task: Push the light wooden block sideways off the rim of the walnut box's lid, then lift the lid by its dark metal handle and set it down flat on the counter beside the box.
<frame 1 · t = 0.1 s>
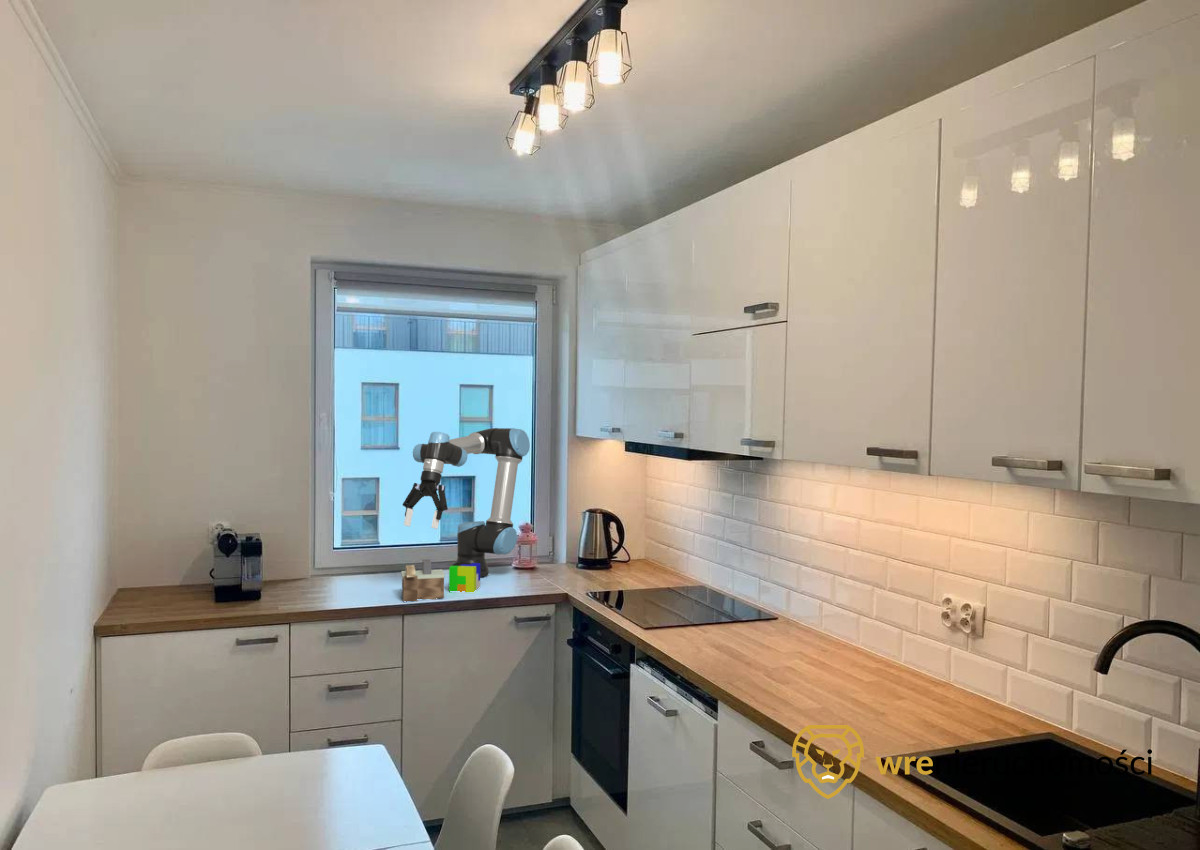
hand: (420, 527, 321), 28 cm above the worktop, tool tilted 20°, fingers open, 13 cm apart
light wooden block: (410, 571, 321), point 11 cm above the worktop, slide at 0.0 cm
lid: (422, 578, 328), point 7 cm above the worktop, touching box
puzzle toy: (464, 590, 341), on the worktop
box: (422, 596, 328), on the worktop
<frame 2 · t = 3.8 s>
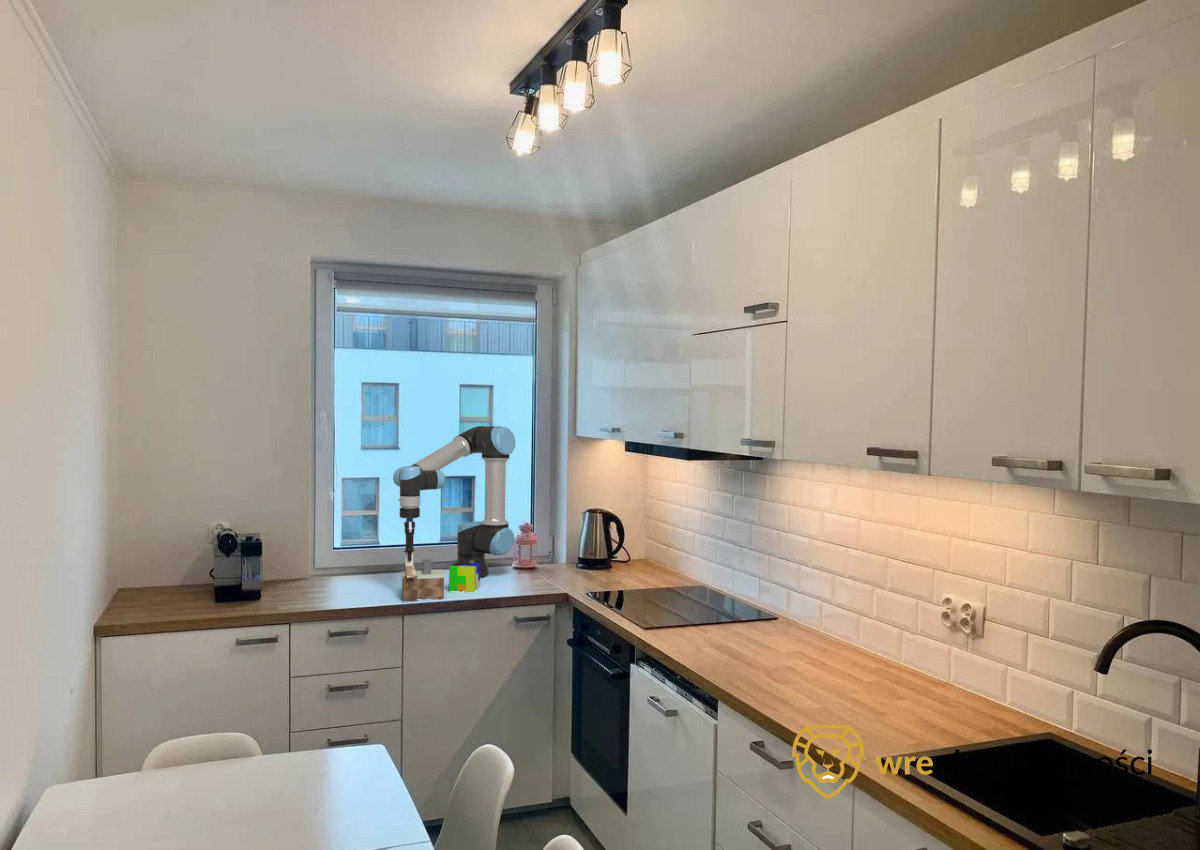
hand: (409, 569, 325), 11 cm above the worktop, tool pointing down, fingers closed
light wooden block: (410, 571, 320), point 11 cm above the worktop, slide at 0.6 cm, touching gripper
everything else where it was.
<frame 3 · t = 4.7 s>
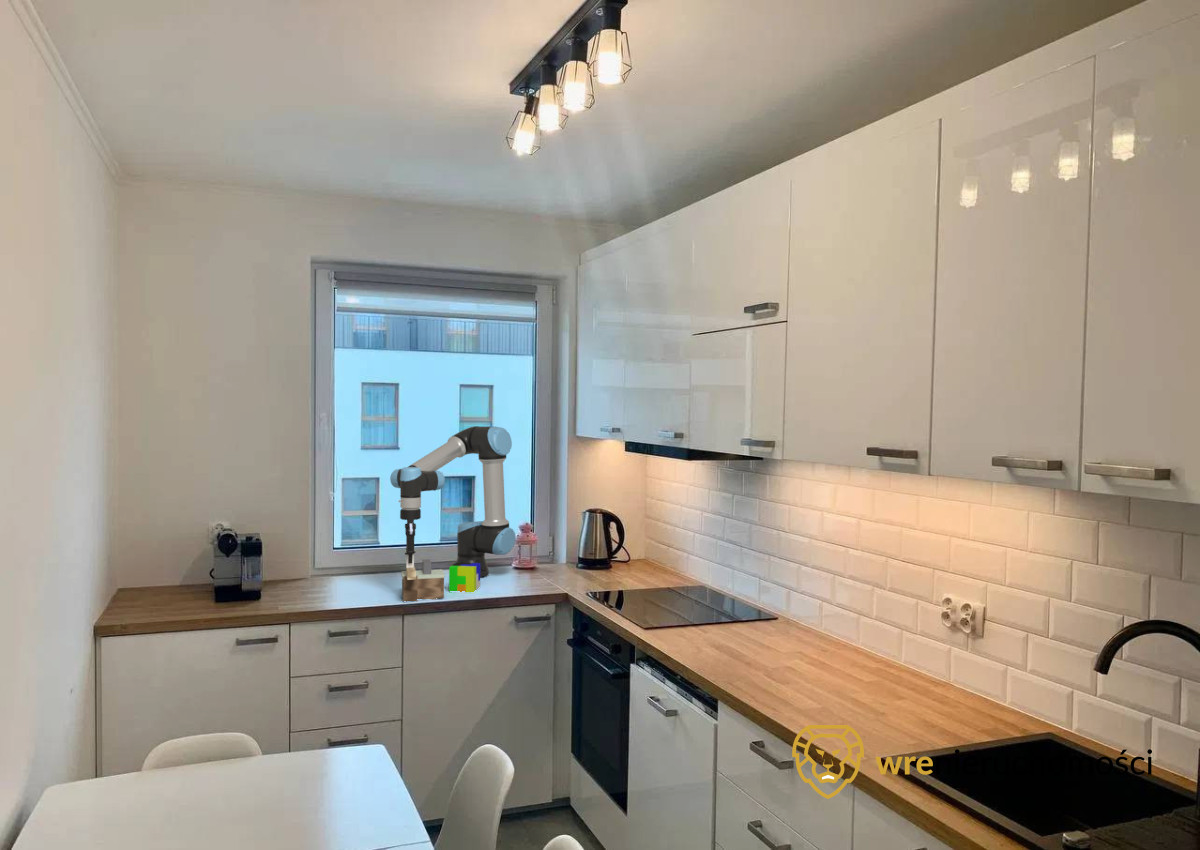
hand: (410, 571, 321), 11 cm above the worktop, tool pointing down, fingers closed
light wooden block: (411, 573, 316), point 11 cm above the worktop, slide at 4.8 cm, touching gripper
everything else where it was.
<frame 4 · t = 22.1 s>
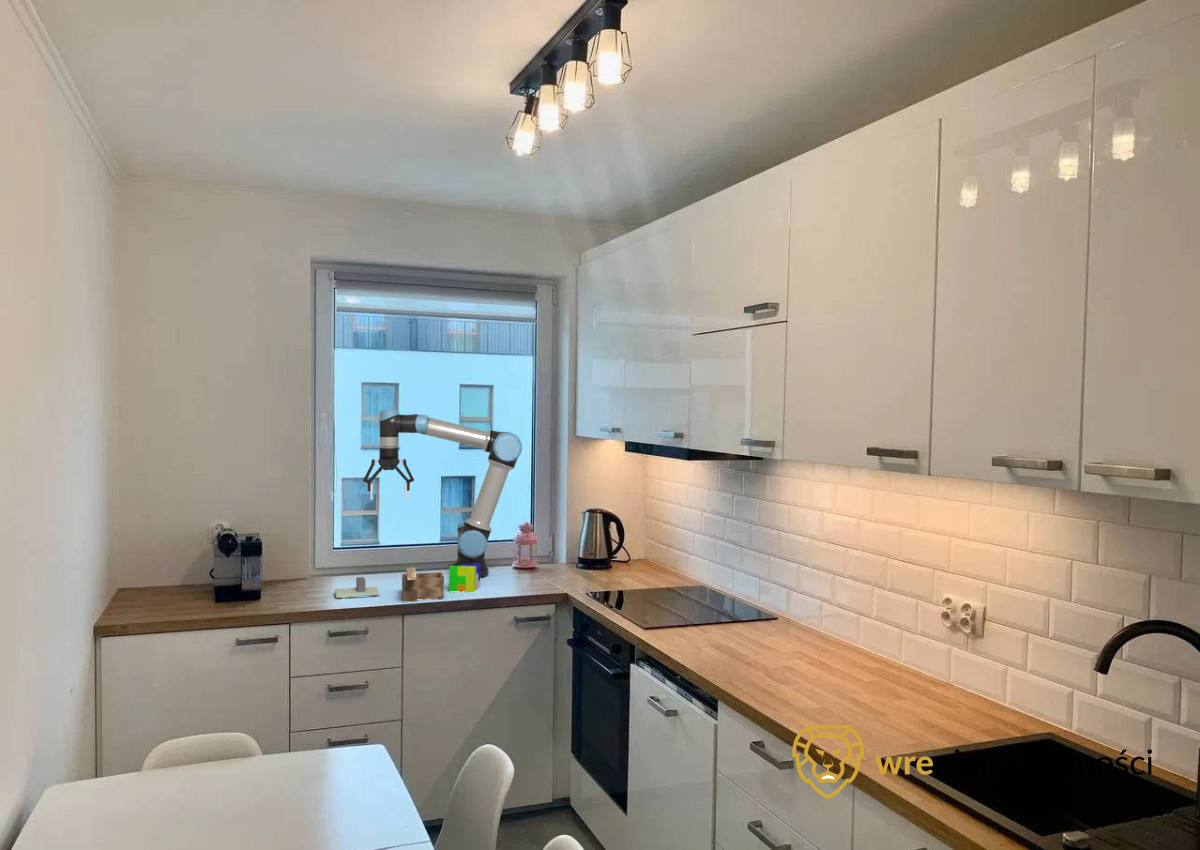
hand: (388, 499, 350), 35 cm above the worktop, tool pointing down, fingers open, 13 cm apart
light wooden block: (411, 573, 316), point 11 cm above the worktop, slide at 5.2 cm
lid: (356, 596, 329), on the worktop
everything else where it was.
at the end: light wooden block slide at 5.2 cm; lid inside the target area (0.7 cm from its centre), on the worktop; lid tilted 0° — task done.
